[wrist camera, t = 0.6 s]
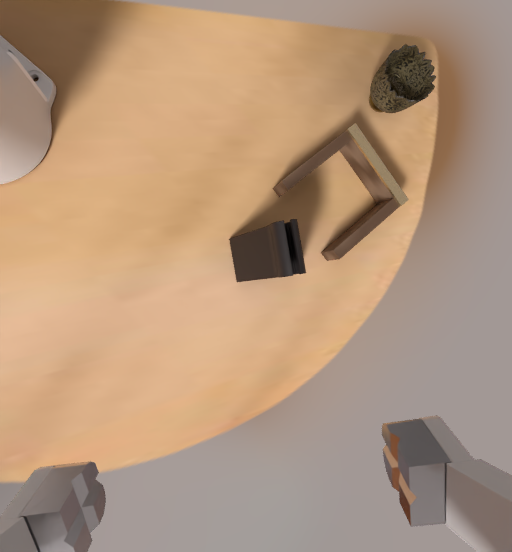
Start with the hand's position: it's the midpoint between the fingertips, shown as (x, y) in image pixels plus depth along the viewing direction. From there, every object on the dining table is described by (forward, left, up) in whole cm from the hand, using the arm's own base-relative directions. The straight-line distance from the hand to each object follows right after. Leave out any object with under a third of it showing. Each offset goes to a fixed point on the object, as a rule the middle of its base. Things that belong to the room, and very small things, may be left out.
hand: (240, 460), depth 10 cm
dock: (0, +27, -38) cm, 46 cm away
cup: (-7, +43, -38) cm, 58 cm away
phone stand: (0, +14, -38) cm, 41 cm away
